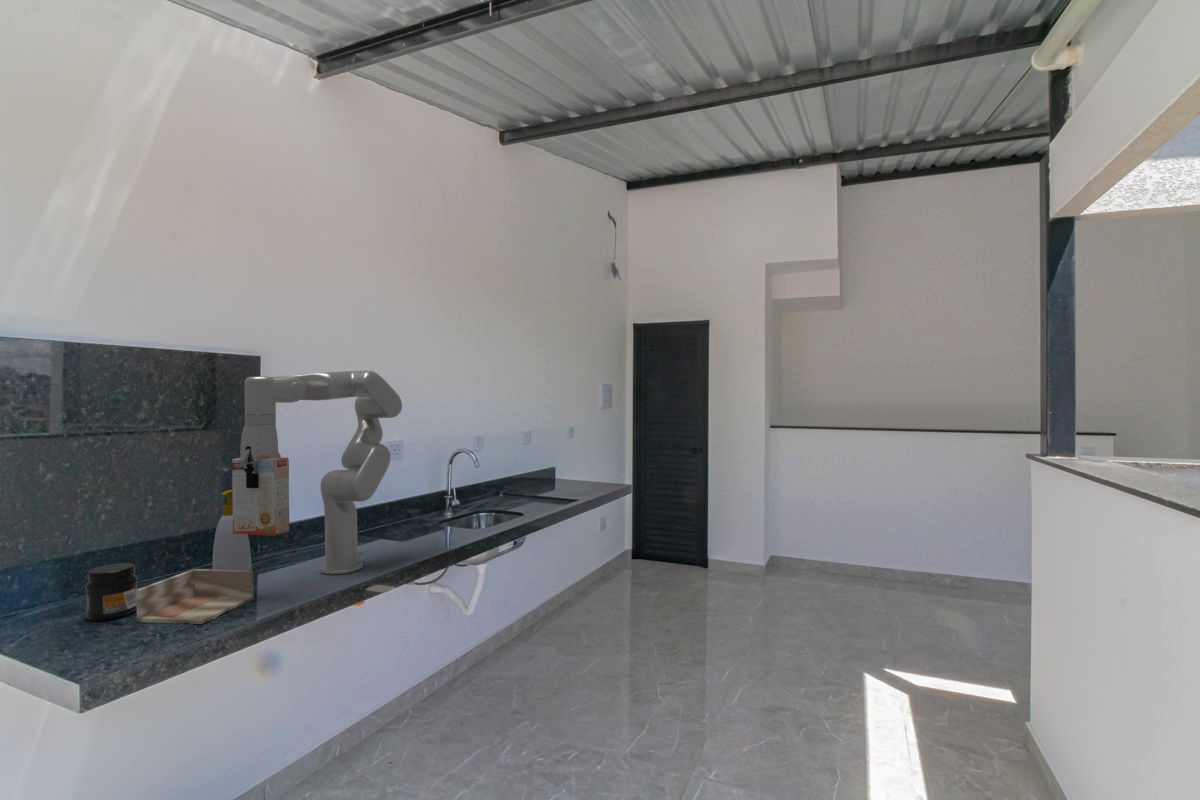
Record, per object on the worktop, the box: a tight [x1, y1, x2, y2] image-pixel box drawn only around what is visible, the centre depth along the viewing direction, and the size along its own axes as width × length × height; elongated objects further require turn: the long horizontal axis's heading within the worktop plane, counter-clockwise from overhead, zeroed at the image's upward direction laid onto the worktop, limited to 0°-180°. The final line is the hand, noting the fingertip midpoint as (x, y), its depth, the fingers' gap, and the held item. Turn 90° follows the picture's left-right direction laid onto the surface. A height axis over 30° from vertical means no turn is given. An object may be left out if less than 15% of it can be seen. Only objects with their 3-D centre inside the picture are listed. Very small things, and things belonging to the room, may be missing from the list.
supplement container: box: [85, 562, 139, 622], centre depth 158 cm, size 10×10×12 cm
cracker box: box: [231, 457, 290, 537], centre depth 171 cm, size 14×6×21 cm, turn 76°
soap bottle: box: [212, 489, 254, 571], centre depth 193 cm, size 11×12×26 cm
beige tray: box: [136, 568, 254, 625], centre depth 161 cm, size 18×18×8 cm
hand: (261, 485), depth 171 cm, fingers closed on cracker box, 6 cm apart
